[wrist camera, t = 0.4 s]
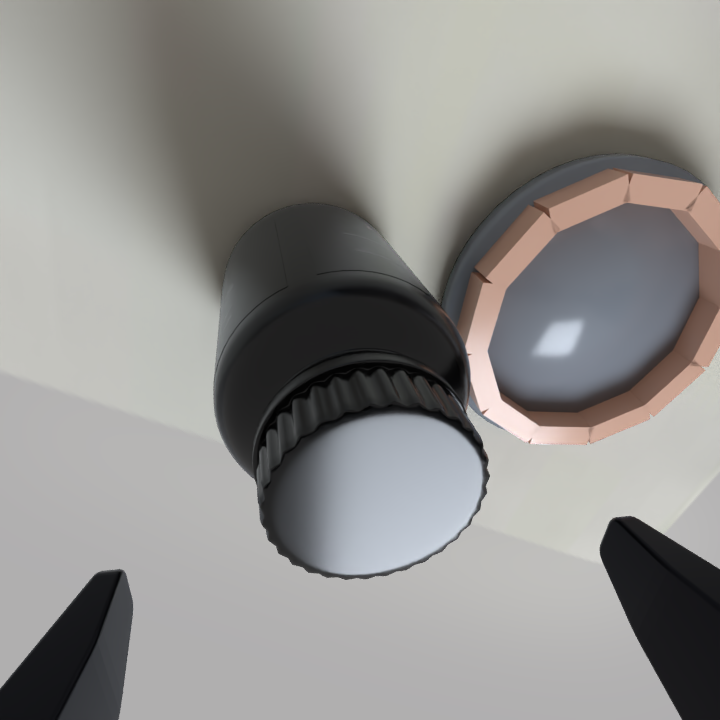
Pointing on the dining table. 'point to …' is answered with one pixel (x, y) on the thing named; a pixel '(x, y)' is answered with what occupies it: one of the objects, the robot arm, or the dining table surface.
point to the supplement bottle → (344, 396)
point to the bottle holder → (589, 298)
